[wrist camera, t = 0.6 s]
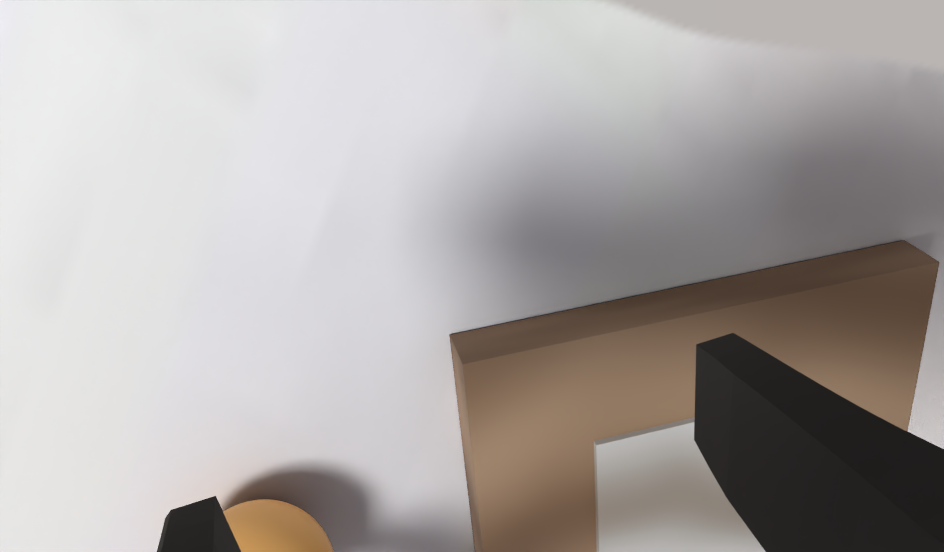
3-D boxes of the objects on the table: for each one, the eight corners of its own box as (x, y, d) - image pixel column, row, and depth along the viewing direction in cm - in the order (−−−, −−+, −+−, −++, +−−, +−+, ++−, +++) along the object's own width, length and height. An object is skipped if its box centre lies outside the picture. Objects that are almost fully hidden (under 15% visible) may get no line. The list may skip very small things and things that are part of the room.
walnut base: (849, 574, 33) (877, 609, 32) (489, 674, 31) (502, 717, 29) (904, 240, 26) (944, 265, 25) (449, 334, 24) (464, 368, 22)
